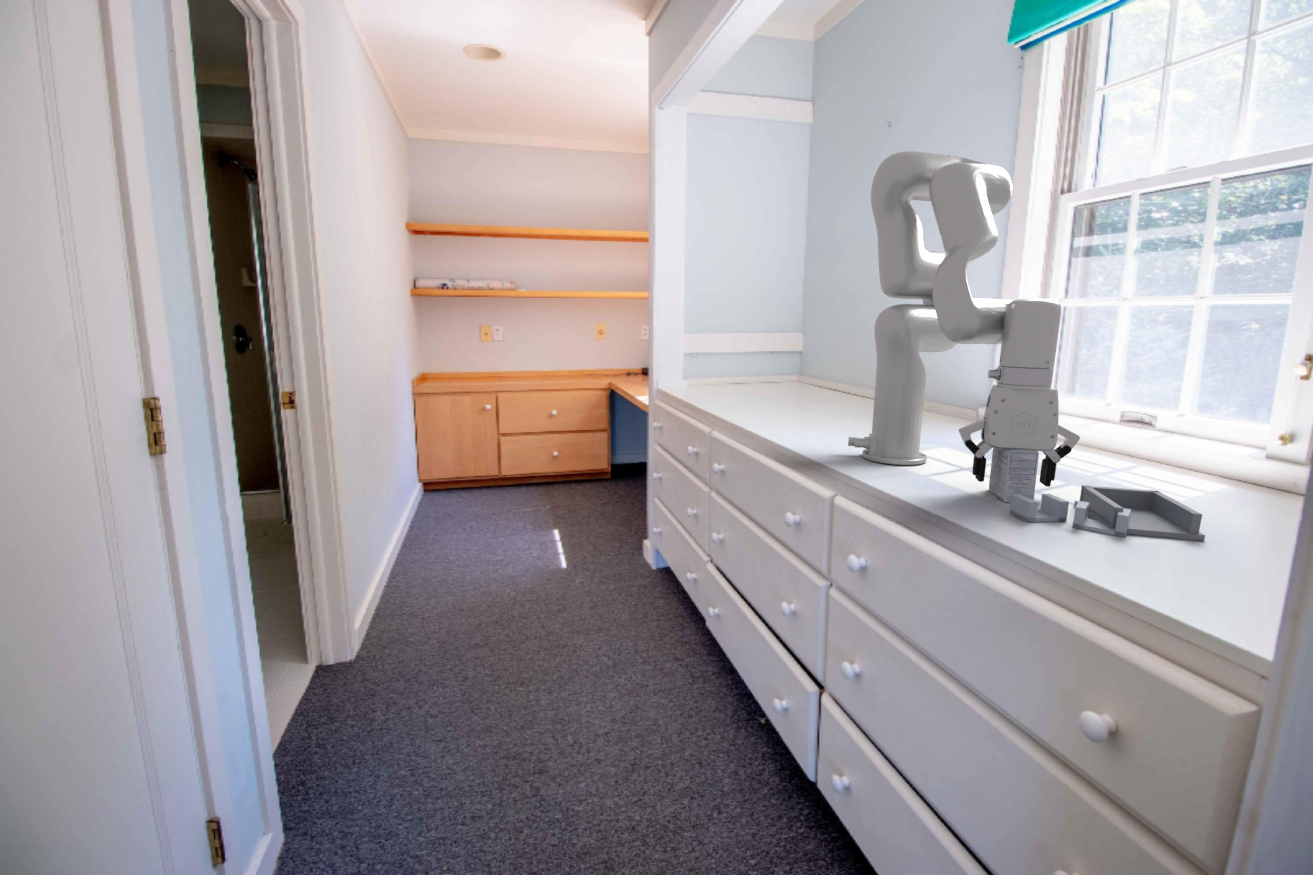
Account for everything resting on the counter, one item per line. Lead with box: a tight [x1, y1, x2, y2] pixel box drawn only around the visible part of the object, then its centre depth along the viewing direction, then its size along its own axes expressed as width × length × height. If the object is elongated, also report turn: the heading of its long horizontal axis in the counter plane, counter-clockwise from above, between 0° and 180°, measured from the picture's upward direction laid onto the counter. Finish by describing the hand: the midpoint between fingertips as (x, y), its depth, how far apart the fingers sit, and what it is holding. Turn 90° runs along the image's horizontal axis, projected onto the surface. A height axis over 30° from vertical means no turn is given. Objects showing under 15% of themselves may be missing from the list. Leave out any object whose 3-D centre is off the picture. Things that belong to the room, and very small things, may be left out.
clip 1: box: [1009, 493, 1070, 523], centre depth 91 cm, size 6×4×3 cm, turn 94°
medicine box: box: [988, 448, 1040, 504], centre depth 101 cm, size 8×4×9 cm, turn 168°
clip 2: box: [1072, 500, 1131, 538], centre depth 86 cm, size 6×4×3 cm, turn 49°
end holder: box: [1073, 484, 1206, 542], centre depth 89 cm, size 11×13×4 cm
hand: (1011, 482), depth 101 cm, fingers open, 9 cm apart
